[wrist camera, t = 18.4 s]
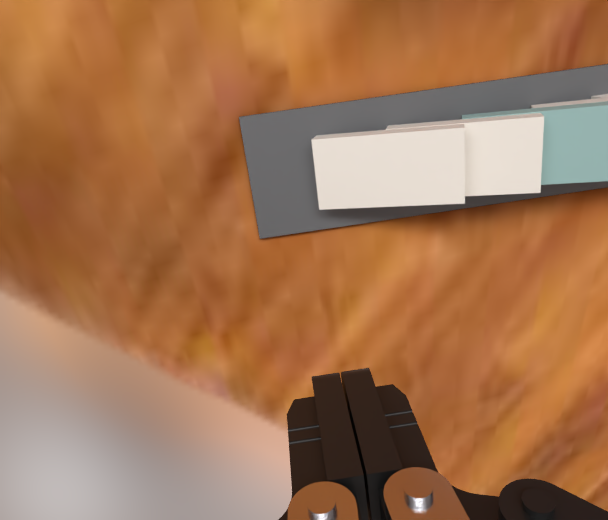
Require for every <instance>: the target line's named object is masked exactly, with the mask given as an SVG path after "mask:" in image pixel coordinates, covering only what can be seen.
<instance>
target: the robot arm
mask: <svg viewBox="0 0 608 520" xmlns="http://www.w3.org/2000/svg"><path fill="white" fill-rule="evenodd" d="M341 378H342V382H341ZM341 378H340V374H339V373H333V374H326V375H320V376H313V377H312V383H313V389H314V396H315V397H308V398H302V399H295V400H294V401H293V403H292V405H291V407H290V409H289V411H288V413H287V422H288V436H289V451H290V465H291V480H292V499H291V502H290V504H289V507H288V509H287V511H286V512H285V513H284V515H283V516H282V517H281V518H280V519H279V520H608V512H607V511H605V510H603V509H601V508H599V507H597V506H595V505H593V504H591V503H589V502H587V501H585V500H583V499H581V498H579V497H577V496H575V495H573V494H571V493H569V492H567V491H565V490H563V489H561V488H559V487H557V486H555V485H553V484H551V483H548V482H545V481H542V480H537V479H521V480H516V481H514V482H511V483H509V484H508V485H506V486H505V487H504V488H503V490H502V491H501V493H500V496H499V497H496V496H488V495H479V494H473V493H468V492H465V491H462V490H460V489H457V488H455V487H454V486H452V485H451V484H450V483H449V481H448V480H447V479H446V478H445V477H444V476H442V475H441V474H439V473H438V471H437V469H436V467H435V464H434V462H433V460H432V457H431V455H430V452H429V450H428V447H427V445H426V443H425V440H424V438H423V435H422V433H421V431H420V428H419V426H418V425H417V421H416V419H415V416H414V414H413V413H412V409H411V407H410V404H409V402H408V399H407V397H406V395H405V394H403V393H402V392H401V391H400V390H399V389H398V388H396V387H395V386H394V385H393V384H391V385H385V386H379V387H375V384H374V381H373V378H372V375H371V372H370V369H369V368H365V369H358V370H352V371H345V372H341Z"/></svg>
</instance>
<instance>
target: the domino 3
mask: <svg viewBox="0 0 608 520" xmlns="http://www.w3.org/2000/svg"><path fill="white" fill-rule="evenodd" d="M531 113H541V114H542V115H543V116H544V132H543V152H542V172H541V185H547V184H565V183H583V182H601V181H608V101H605V102H594V103H584V104H573V105H563V106H552V107H542V108H531V109H521V110H510V111H499V112H489V113H478V114H468V115H462V119H472V118H484V117H496V116H508V115H519V114H531Z"/></svg>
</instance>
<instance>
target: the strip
mask: <svg viewBox="0 0 608 520" xmlns="http://www.w3.org/2000/svg"><path fill="white" fill-rule="evenodd" d="M603 94H608V64H605V65H598V66H591V67H584V68H577V69H570V70H563V71H556V72H549V73H542V74H535V75H528V76H521V77H514V78H507V79H500V80H493V81H486V82H479V83H472V84H465V85H458V86H451V87H444V88H437V89H430V90H423V91H416V92H409V93H402V94H396V95H389V96H382V97H375V98H368V99H361V100H354V101H347V102H340V103H333V104H326V105H319V106H312V107H305V108H298V109H291V110H284V111H277V112H270V113H263V114H256V115H249V116H242V117H239V120H240V126H241V132H242V138H243V143H244V149H245V155H246V161H247V167H248V172H249V178H250V184H251V190H252V196H253V201H254V207H255V213H256V219H257V225H258V230H259V236H260V239H261V238H268V237H275V236H281V235H288V234H295V233H302V232H308V231H315V230H322V229H329V228H335V227H342V226H349V225H356V224H363V223H369V222H376V221H383V220H390V219H396V218H403V217H410V216H417V215H423V214H430V213H437V212H444V211H450V210H457V209H464V208H471V207H477V206H484V205H491V204H498V203H504V202H511V201H518V200H525V199H531V198H538V197H545V196H552V195H558V194H565V193H572V192H579V191H585V190H592V189H599V188H606V187H608V181H601V182H583V183H565V184H547V185H541V192H540V193H525V194H504V195H482V196H465V204H443V205H419V206H395V207H372V208H348V209H324V210H319V203H318V194H317V185H316V177H315V168H314V159H313V150H312V141H311V140H312V139H313V138H314V137H315V136H316V135H328V134H340V133H352V132H364V131H377V130H386V128H387V126H389V125H401V124H413V123H424V122H436V121H448V120H460V119H462V115H468V114H478V113H489V112H499V111H510V110H521V109H531V105H537V104H547V103H557V102H567V101H577V100H587V99H591V96H596V95H603Z"/></svg>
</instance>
